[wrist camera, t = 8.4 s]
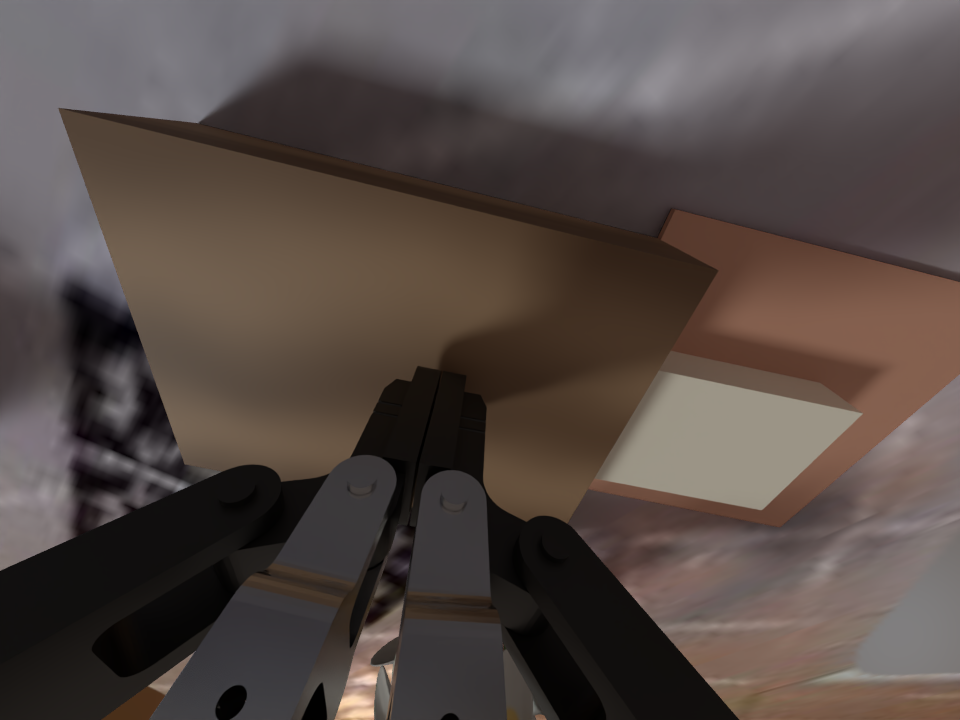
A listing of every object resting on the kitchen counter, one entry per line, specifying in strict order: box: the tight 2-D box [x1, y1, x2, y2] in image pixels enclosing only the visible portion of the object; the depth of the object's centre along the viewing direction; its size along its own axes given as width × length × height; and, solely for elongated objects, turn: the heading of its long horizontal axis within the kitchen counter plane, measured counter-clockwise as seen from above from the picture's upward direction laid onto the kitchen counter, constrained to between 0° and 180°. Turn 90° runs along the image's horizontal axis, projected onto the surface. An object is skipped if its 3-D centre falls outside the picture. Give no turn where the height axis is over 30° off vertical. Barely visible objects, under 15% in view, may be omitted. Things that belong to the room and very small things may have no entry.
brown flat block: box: [59, 108, 719, 523], centre depth 13 cm, size 12×16×4 cm
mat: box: [588, 209, 960, 527], centre depth 15 cm, size 14×14×1 cm
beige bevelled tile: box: [594, 351, 863, 510], centre depth 15 cm, size 6×9×2 cm, turn 79°
